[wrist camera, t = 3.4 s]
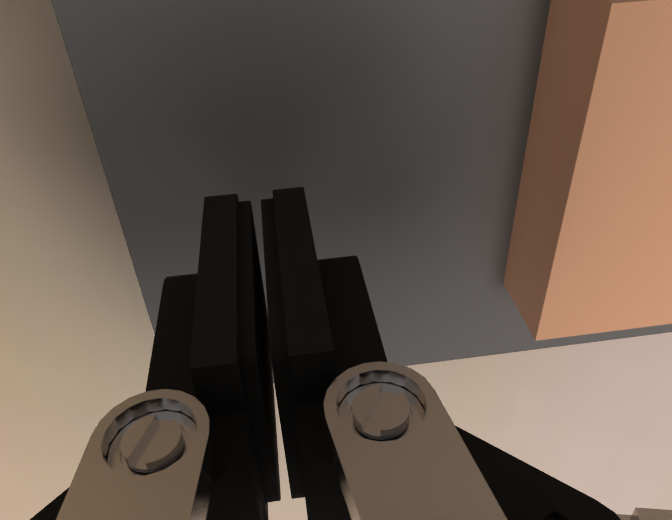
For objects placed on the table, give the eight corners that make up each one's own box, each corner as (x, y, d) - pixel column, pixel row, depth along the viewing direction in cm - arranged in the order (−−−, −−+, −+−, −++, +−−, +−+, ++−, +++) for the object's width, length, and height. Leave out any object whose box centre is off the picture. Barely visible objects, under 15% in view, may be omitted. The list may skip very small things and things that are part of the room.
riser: (43, -180, 10) (-4, -179, 8) (1081, -232, 12) (1252, -240, 10) (181, 328, 17) (173, 395, 15) (813, 254, 19) (880, 305, 17)
